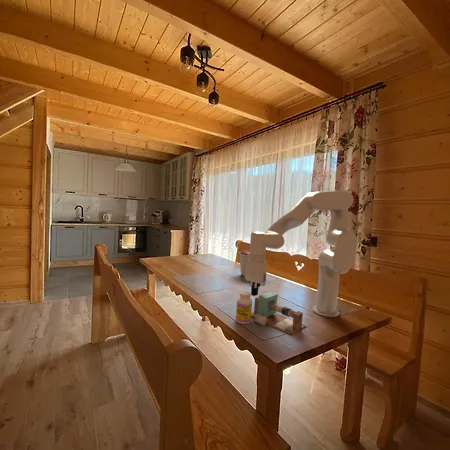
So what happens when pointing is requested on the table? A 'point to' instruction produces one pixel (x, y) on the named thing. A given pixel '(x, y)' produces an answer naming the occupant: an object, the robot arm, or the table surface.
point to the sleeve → (260, 319)
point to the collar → (266, 303)
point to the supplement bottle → (244, 308)
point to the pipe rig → (282, 318)
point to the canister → (243, 260)
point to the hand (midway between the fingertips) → (254, 294)
